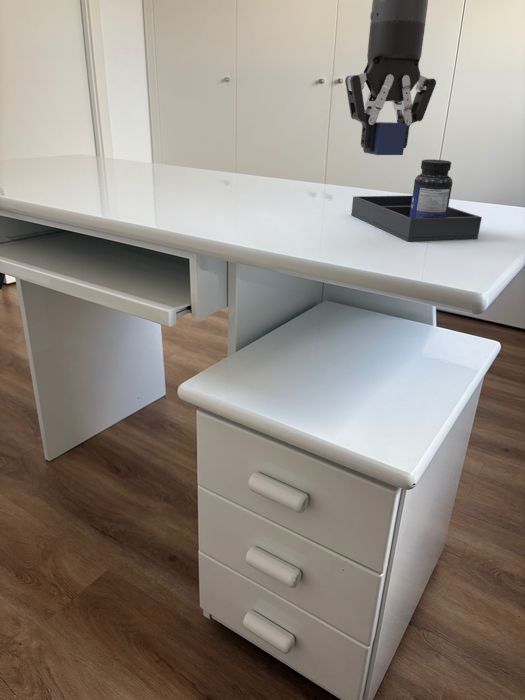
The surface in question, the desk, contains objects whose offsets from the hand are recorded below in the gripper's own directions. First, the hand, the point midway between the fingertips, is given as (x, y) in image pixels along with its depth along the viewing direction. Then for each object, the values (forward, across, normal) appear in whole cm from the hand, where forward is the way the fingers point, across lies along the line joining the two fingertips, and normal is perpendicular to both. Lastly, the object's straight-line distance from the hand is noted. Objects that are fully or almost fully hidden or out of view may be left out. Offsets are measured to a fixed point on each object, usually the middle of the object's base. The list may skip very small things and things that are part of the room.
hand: (383, 151), depth 82 cm
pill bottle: (+13, +12, +3) cm, 18 cm away
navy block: (0, 0, 0) cm, 0 cm away
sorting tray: (+13, +12, +8) cm, 20 cm away
